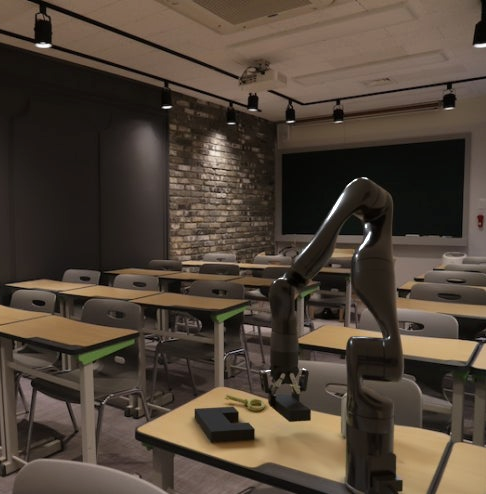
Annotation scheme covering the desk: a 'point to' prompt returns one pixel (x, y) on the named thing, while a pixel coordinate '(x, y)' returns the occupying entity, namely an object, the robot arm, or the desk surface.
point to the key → (247, 402)
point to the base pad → (223, 424)
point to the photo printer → (343, 415)
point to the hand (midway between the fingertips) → (283, 406)
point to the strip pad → (292, 408)
